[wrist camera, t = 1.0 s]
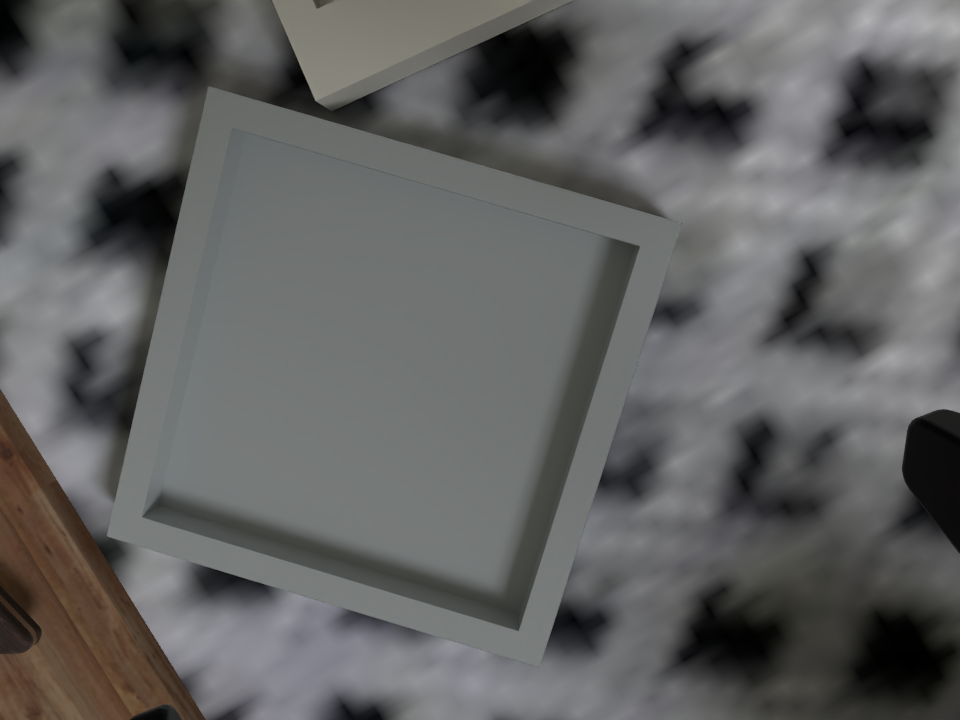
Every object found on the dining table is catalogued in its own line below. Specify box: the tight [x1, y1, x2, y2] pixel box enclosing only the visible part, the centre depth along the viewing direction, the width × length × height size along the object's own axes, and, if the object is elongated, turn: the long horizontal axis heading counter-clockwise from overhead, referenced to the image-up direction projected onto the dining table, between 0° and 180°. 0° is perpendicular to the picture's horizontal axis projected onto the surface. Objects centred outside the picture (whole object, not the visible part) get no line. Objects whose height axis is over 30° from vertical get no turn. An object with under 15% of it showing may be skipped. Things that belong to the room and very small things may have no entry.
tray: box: [107, 86, 682, 667], centre depth 22 cm, size 12×12×1 cm
